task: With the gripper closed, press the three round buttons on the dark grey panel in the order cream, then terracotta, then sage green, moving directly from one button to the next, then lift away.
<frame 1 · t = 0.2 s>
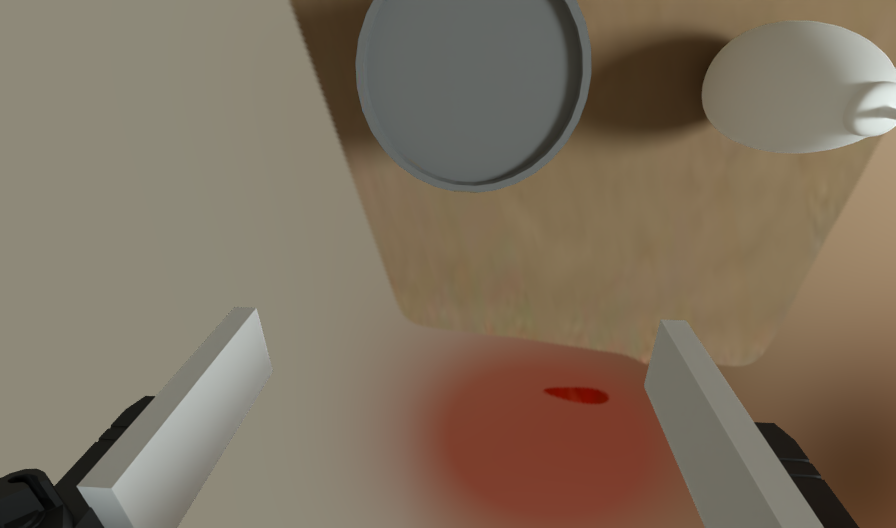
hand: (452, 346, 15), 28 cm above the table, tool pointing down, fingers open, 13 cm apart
reusable coffee cup: (476, 59, 36), on the table
sauce bottle: (730, 76, 36), on the table
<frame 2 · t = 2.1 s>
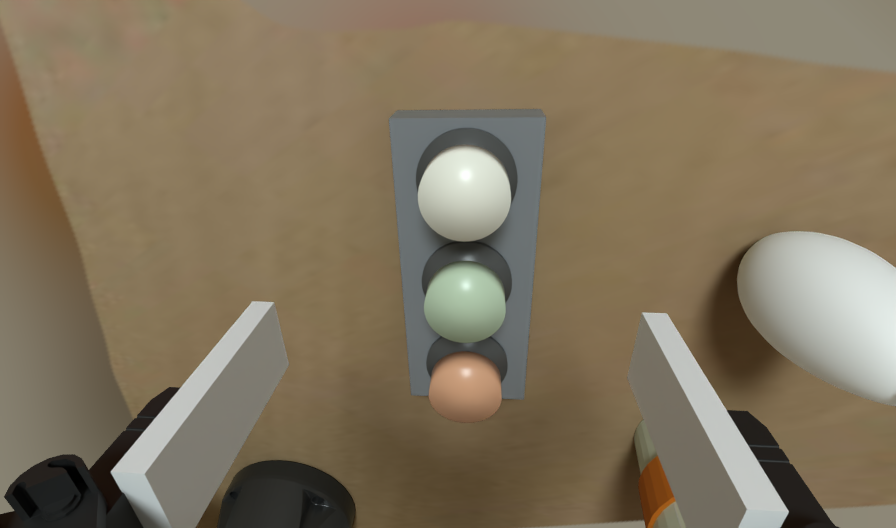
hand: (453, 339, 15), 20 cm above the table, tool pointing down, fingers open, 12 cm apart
sage button: (465, 302, 32), point 6 cm above the table, slide at 0.0 cm
terracotta button: (465, 387, 35), point 6 cm above the table, slide at 0.0 cm
cream button: (464, 193, 28), point 6 cm above the table, slide at 0.0 cm
reusable coffee cup: (680, 434, 45), on the table
sauce bottle: (764, 254, 35), on the table
button panel: (468, 262, 37), on the table
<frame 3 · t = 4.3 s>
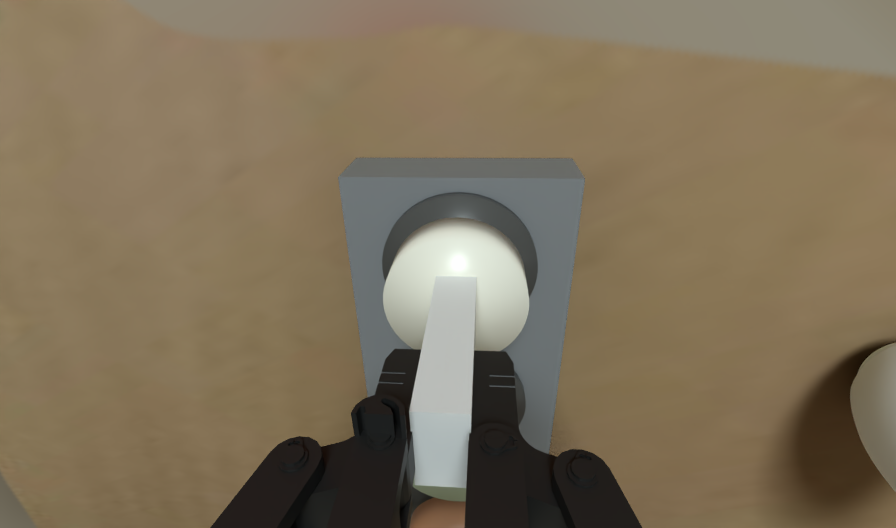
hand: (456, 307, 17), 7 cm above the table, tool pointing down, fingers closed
sage button: (457, 444, 21), point 6 cm above the table, slide at 0.0 cm
cream button: (456, 291, 18), point 5 cm above the table, slide at 0.7 cm, touching gripper
sauce bottle: (883, 358, 25), on the table
button panel: (462, 360, 27), on the table
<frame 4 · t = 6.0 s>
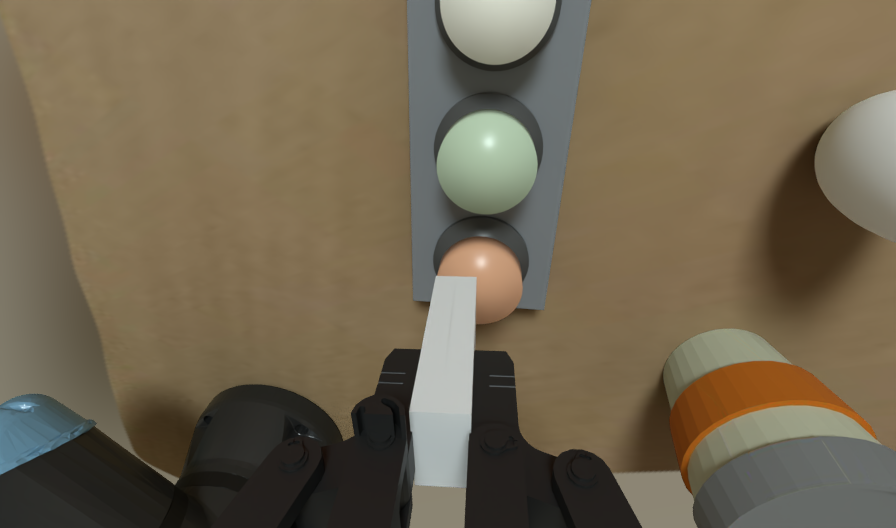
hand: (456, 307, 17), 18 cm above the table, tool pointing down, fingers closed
sage button: (486, 162, 26), point 6 cm above the table, slide at 0.0 cm
terracotta button: (479, 280, 30), point 6 cm above the table, slide at 0.0 cm
cream button: (497, 2, 23), point 5 cm above the table, slide at 0.8 cm
reusable coffee cup: (716, 368, 39), on the table
sauce bottle: (846, 137, 29), on the table
button panel: (488, 137, 31), on the table
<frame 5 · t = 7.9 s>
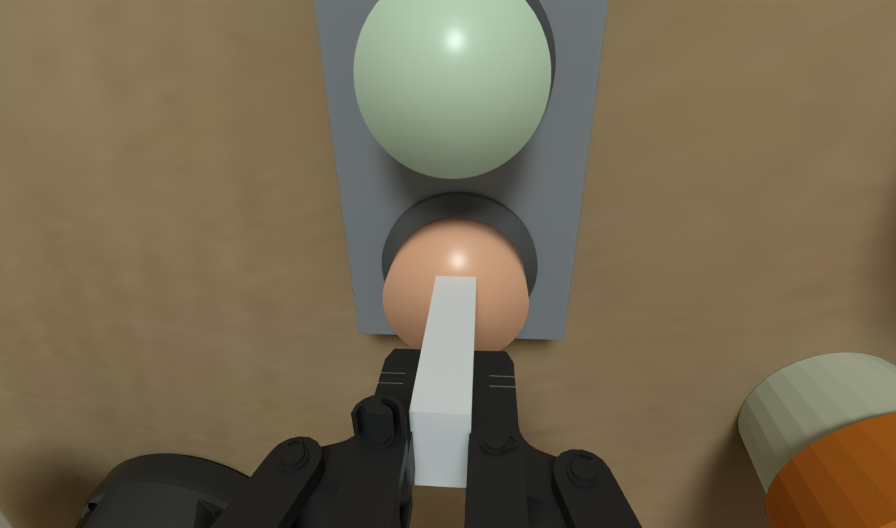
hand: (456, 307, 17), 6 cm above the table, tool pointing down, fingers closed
sage button: (453, 79, 14), point 6 cm above the table, slide at 0.0 cm
terracotta button: (456, 291, 18), point 5 cm above the table, slide at 0.8 cm, touching gripper
reusable coffee cup: (817, 409, 27), on the table
button panel: (462, 63, 19), on the table
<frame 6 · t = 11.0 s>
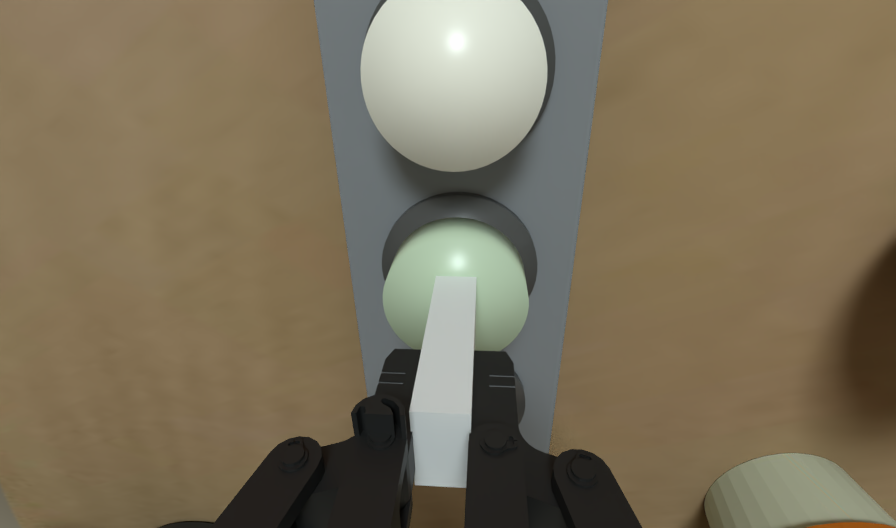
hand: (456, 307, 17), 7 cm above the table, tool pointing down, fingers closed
sage button: (456, 291, 18), point 5 cm above the table, slide at 0.7 cm, touching gripper
cream button: (454, 77, 14), point 5 cm above the table, slide at 0.8 cm
reusable coffee cup: (773, 495, 30), on the table
button panel: (462, 236, 23), on the table
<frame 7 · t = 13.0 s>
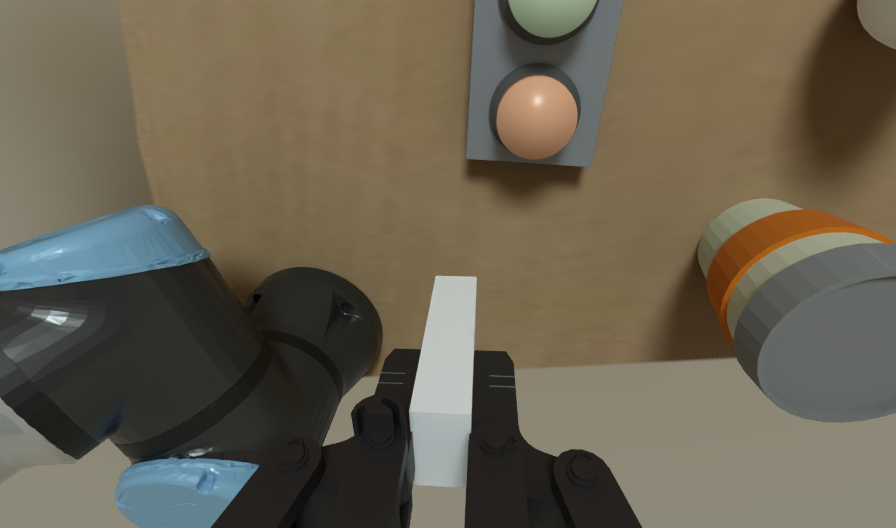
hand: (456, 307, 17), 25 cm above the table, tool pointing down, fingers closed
terracotta button: (535, 117, 32), point 5 cm above the table, slide at 0.8 cm
reusable coffee cup: (749, 243, 41), on the table
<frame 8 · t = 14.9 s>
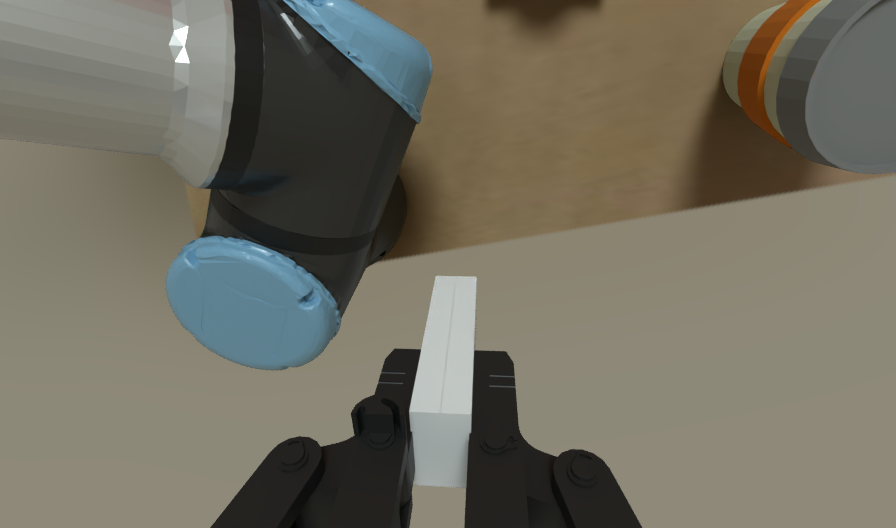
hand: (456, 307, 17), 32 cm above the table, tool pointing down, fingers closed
reusable coffee cup: (774, 59, 41), on the table
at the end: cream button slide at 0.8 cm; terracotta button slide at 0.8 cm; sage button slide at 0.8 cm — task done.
